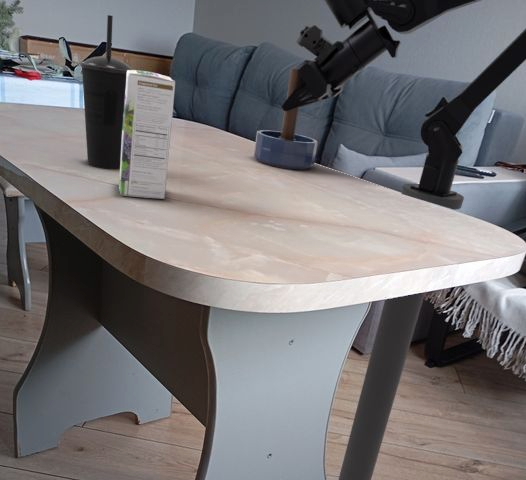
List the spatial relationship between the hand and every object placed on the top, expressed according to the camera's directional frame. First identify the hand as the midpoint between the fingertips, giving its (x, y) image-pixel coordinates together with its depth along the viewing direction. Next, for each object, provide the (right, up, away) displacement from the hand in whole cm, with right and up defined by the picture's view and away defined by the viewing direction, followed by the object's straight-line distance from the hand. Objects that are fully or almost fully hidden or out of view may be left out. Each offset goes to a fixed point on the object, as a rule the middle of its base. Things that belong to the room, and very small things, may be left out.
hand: (284, 108), depth 114 cm
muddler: (0, -7, +3) cm, 7 cm away
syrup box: (-20, -24, -33) cm, 45 cm away
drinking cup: (-28, -17, -21) cm, 39 cm away
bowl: (0, -9, +4) cm, 10 cm away
